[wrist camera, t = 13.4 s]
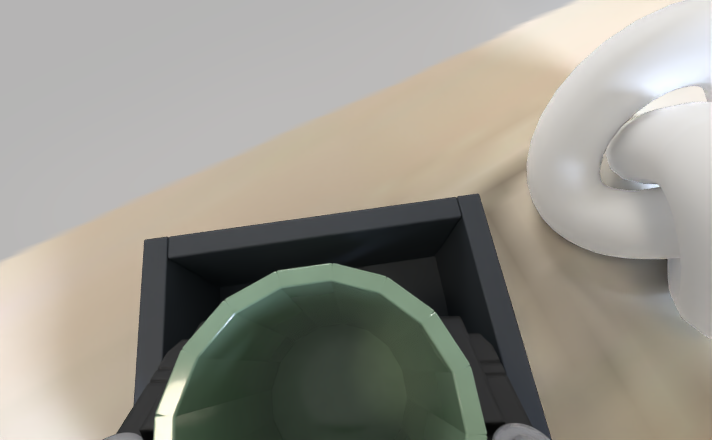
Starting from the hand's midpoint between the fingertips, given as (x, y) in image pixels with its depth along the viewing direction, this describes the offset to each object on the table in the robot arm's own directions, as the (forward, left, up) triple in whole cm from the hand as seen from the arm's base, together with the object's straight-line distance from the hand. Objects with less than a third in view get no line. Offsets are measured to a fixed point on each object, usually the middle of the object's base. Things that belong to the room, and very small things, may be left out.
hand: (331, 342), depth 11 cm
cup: (0, +2, -5) cm, 5 cm away
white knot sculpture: (-16, -4, -6) cm, 18 cm away
